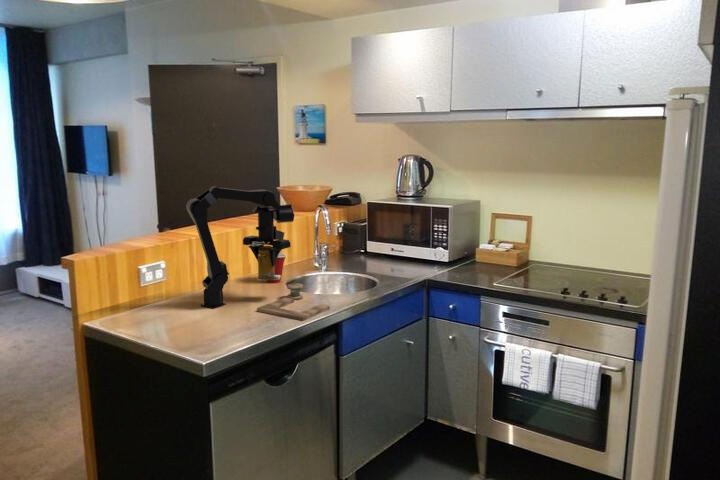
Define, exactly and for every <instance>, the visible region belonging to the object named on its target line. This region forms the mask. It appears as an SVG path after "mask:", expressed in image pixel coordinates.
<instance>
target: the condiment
mask: <svg viewBox="0 0 720 480" xmlns="http://www.w3.org/2000/svg"><path fill="white" fill-rule="evenodd" d="M271 248H273V246H272V245H264V246H261V247H259V254H258V261H257V264H258V265H257V270H258V271H257V274H258V275H257V279H256V281H267V280H276V279H280V276H281V277H282V275H275V271H274V270H275V269H274V266H272V263H271V258H270V252H269V249H271Z"/></svg>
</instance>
